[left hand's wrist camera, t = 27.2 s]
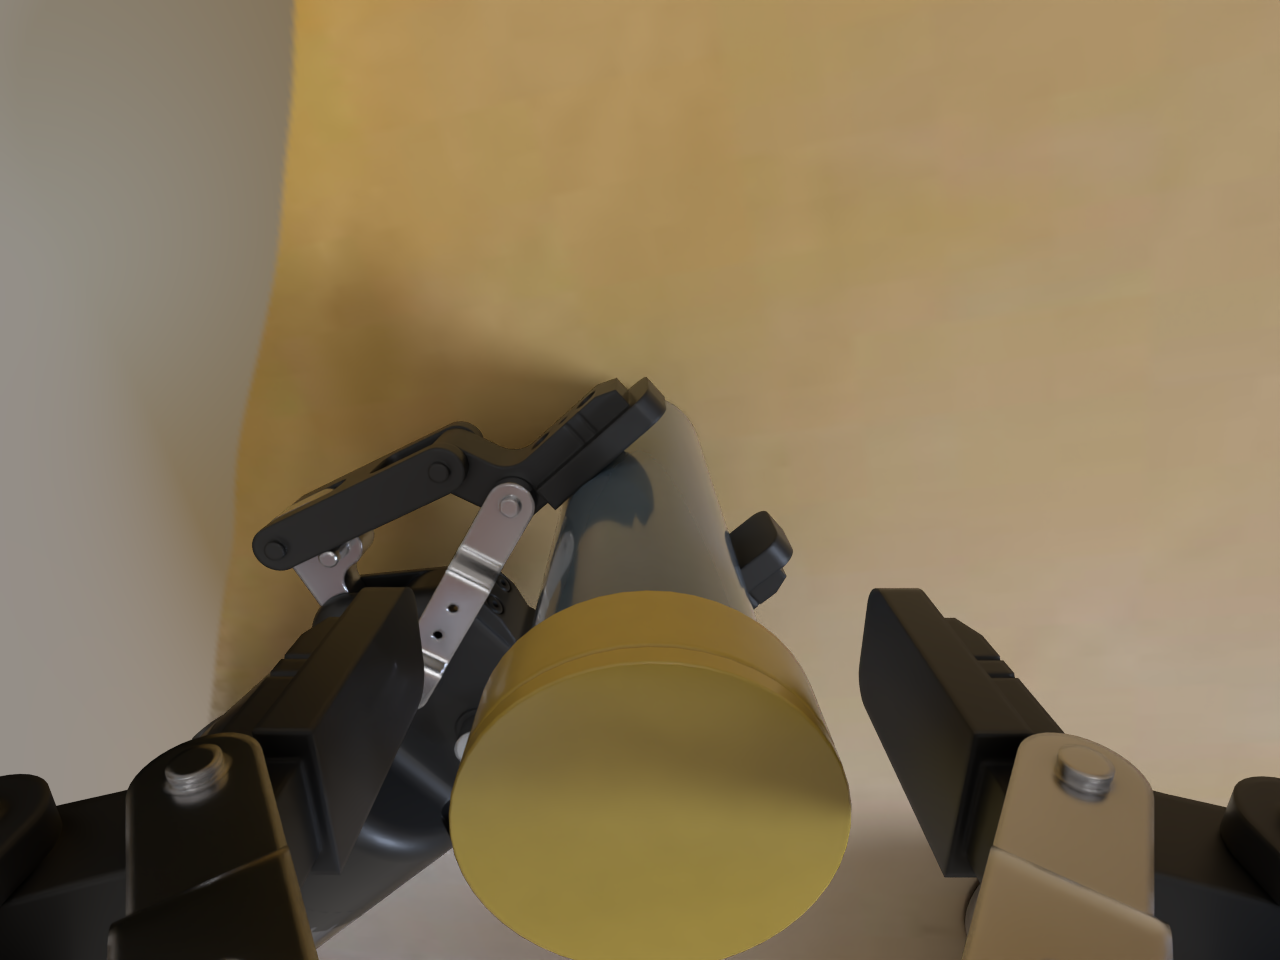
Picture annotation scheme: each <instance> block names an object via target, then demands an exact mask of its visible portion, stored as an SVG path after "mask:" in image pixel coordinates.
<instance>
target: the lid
mask: <svg viewBox="0 0 1280 960" xmlns="http://www.w3.org/2000/svg"><path fill="white" fill-rule="evenodd" d="M850 827H851V799H850V791H849V785H848V782H847V778H846V775H845V772H844V769H843V766H842V763H841V761H840V758H839V756H838V753H837V750H836V749H835V746H834V743H833V740H832V738H831V735H830V733H829V730H828V728H827V725H826V723H825V720H824V717H823V715H822V712H821V710H820V707H819V705H818V702H817V700H816V697H815V695H814V692H813V690H812V687H811V685H810V683H809V681H808V679H807V677H806V675H805V673H804V671H803V669H802V667H801V666H800V664H799V663H798V661H797V660H796V659H795V657H794V656H793V654H792V653H791V652H790V650H789V649H788V648H787V647H786V646H785V645H784V644H783V643H782V642H781V641H780V640H779V639H778V638H777V637H776V636H775V635H774V634H772V633H771V632H770V631H769V630H767V629H766V628H765V627H763V626H762V625H761V624H759V623H758V622H757V621H755V620H753V619H751V618H750V617H748V616H746V615H744V614H743V613H741V612H739V611H737V610H735V609H733V608H731V607H728V606H726V605H723V604H721V603H719V602H716V601H713V600H709V599H706V598H702V597H699V596H695V595H690V594H684V593H678V592H671V591H650V590H644V591H631V592H620V593H615V594H610V595H605V596H600V597H596V598H593V599H590V600H587V601H584V602H580V603H577V604H575V605H573V606H570V607H568V608H566V609H564V610H562V611H560V612H557V613H555V614H554V615H552V616H550V617H549V618H547V619H546V620H544V621H542V622H541V623H539V624H538V625H536V626H534V627H533V628H532V629H531V630H530V631H528V632H527V633H526V634H525V635H524V636H522V637H521V638H520V639H519V640H517V642H516V643H515V644H514V645H513V646H512V647H511V648H510V649H509V650H508V651H507V652H506V654H505V655H504V656H503V657H502V659H501V660H500V662H499V663H498V664H497V666H496V667H495V669H494V670H493V672H492V673H491V676H490V678H489V680H488V682H487V684H486V686H485V688H484V690H483V693H482V696H481V699H480V702H479V706H478V709H477V712H476V715H475V718H474V721H473V724H472V727H471V731H470V734H469V737H468V740H467V743H466V746H465V749H464V752H463V756H462V759H461V762H460V765H459V768H458V771H457V774H456V778H455V781H454V784H453V788H452V791H451V797H450V806H449V830H450V837H451V842H452V846H453V850H454V855H455V858H456V860H457V862H458V865H459V867H460V870H461V872H462V874H463V876H464V878H465V879H466V881H467V883H468V884H469V886H470V888H471V889H472V891H473V892H474V894H475V895H476V896H477V897H478V899H479V900H480V901H481V902H482V903H483V905H484V906H485V907H486V908H487V909H488V910H489V911H490V912H491V913H492V914H493V915H494V916H495V917H496V918H497V919H498V920H500V921H501V922H502V923H503V924H504V925H506V926H507V927H509V928H510V929H511V930H513V931H514V932H515V933H517V934H518V935H520V936H521V937H523V938H525V939H527V940H528V941H530V942H532V943H534V944H536V945H537V946H539V947H541V948H544V949H546V950H548V951H551V952H553V953H555V954H558V955H560V956H563V957H566V958H569V959H573V960H722V959H725V958H727V957H730V956H733V955H736V954H738V953H741V952H744V951H746V950H748V949H750V948H752V947H754V946H756V945H759V944H761V943H763V942H765V941H766V940H768V939H770V938H771V937H773V936H775V935H776V934H778V933H779V932H781V931H783V930H784V929H785V928H787V927H788V926H789V925H791V924H792V923H793V922H794V921H796V920H797V919H798V918H799V917H801V916H802V915H803V914H804V913H805V912H806V911H807V910H808V909H809V908H810V907H811V906H812V905H813V904H814V903H815V902H816V901H817V899H818V898H819V897H820V896H821V894H822V893H823V892H824V890H825V889H826V888H827V886H828V885H829V884H830V882H831V880H832V878H833V876H834V875H835V873H836V871H837V869H838V868H839V866H840V863H841V860H842V858H843V855H844V852H845V850H846V847H847V842H848V837H849V832H850Z"/></svg>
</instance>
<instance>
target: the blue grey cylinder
mask: <svg viewBox="0 0 1280 960" xmlns="http://www.w3.org/2000/svg"><path fill="white" fill-rule="evenodd" d="M665 403H666V411H665V413H664V415H663V416H662V417H661V418H660V419H659V420H658V421H657V422H656V423H655V424H654V425H653V426H652V427H651V428H650V429H649V430H648V431H646V432H645V433H644V434H643V435H642V436H641V437H639V438H638V439H637V440H636V441H635V442H634V443H632V444H631V445H630V446H629V447H628V448H627V449H625V450H624V451H623V452H622V453H621V454H620V455H619V456H617V457H616V458H615V459H614V460H613V461H612V462H610V463H609V464H608V465H607V466H606V467H605V468H603V469H602V470H601V471H600V472H599V473H598V474H596V475H595V476H594V477H593V478H592V479H591V480H590V481H588V482H587V483H586V484H584V485H583V486H582V487H581V488H580V489H579V490H578V491H577V492H575V493H574V494H573V495H572V496H571V497H570V498H569V499H567V500H566V501H565V502H564V503H563V504H562V507H561V511H560V515H559V519H558V523H557V527H556V531H555V535H554V539H553V543H552V547H551V551H550V555H549V559H548V563H547V567H546V571H545V575H544V579H543V583H542V587H541V591H540V595H539V599H538V603H537V607H536V611H535V615H534V619H533V623H532V627H531V629H532V628H533V627H534V626H536V625H538V624H539V623H541V622H542V621H544V620H546V619H547V618H549V617H550V616H552V615H554V614H555V613H557V612H560V611H562V610H564V609H566V608H568V607H570V606H573V605H575V604H577V603H580V602H584V601H587V600H590V599H593V598H596V597H600V596H605V595H610V594H615V593H620V592H631V591H644V590H650V591H671V592H678V593H684V594H690V595H695V596H699V597H702V598H706V599H709V600H713V601H716V602H719V603H721V604H723V605H726V606H728V607H731V608H733V609H735V610H737V611H739V612H741V613H743V614H744V615H746V616H748V617H750V618H751V619H753V620H755V621H757V619H756V616H755V613H754V610H753V607H752V604H751V601H750V597H749V594H748V591H747V588H746V585H745V582H744V579H743V576H742V573H741V570H740V566H739V563H738V560H737V557H736V554H735V551H734V548H733V545H732V542H731V539H730V535H729V532H728V529H727V526H726V523H725V520H724V517H723V514H722V511H721V507H720V504H719V501H718V498H717V495H716V492H715V489H714V486H713V483H712V480H711V476H710V473H709V470H708V467H707V464H706V461H705V458H704V455H703V452H702V448H701V445H700V442H699V439H698V436H697V434H696V431H695V429H694V427H693V425H692V423H691V422H690V420H689V419H688V418H687V416H686V415H685V414H684V413H683V412H682V411H681V410H680V409H678V408H677V407H676V406H674V405H673V404H671V403H669V402H668V401H665Z"/></svg>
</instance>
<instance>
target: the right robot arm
mask: <svg viewBox="0 0 1280 960" xmlns="http://www.w3.org/2000/svg"><path fill="white" fill-rule="evenodd" d="M665 411H666V403H665V398H664V396H663V395H662V394H661V393H660V391H659V390H658V389H657V388H656V387H655V386H654V385H653V384H652V383H651V381H650V380H649V379H648V378H647V377H644V378H643V379H641V380H640V381H638V382H637V383H636V384H634V385H633V386H632V387H631V388H630V389H629V390H627V389H626V388H625V386H624V385H623V384H622V383H621V382H620V381H619V380H618V379H617V378H615V379H612V380H610V381H607V382H604V383H601V384H599V385H597V386H596V387H594V388H593V389H592V390H591V391H590V392H589V393H588V394H587V395H586V396H585V397H583V398H582V400H580V401H579V402H578V403H577V404H576V405H575V406H573V407H572V408H571V409H570V410H569V411H568V412H567V413H566V414H565V415H563V416H562V417H561V418H560V419H559V420H558V421H557V422H556V423H555V424H553V425H552V426H551V427H550V428H549V429H548V430H547V431H546V432H545V433H543V434H542V435H541V436H540V437H539V438H538V439H537V440H536V441H535V442H533V443H532V444H531V445H529V446H527V447H525V448H522V449H514V450H513V449H506V448H503V447H501V446H498V445H496V444H494V443H492V442H490V441H488V440H486V439H484V438H483V435H482V433H481V432H480V430H479V429H478V428H477V427H475V426H474V425H472V424H470V423H468V422H462V421H461V422H454V423H451V424H449V425H447V426H445V427H443V428H441V429H439V430H437V431H435V432H433V433H431V434H429V435H427V436H425V437H423V438H421V439H419V440H416V441H414V442H412V443H410V444H408V445H406V446H404V447H402V448H400V449H398V450H396V451H394V452H392V453H390V454H388V455H386V456H384V457H382V458H379V459H377V460H375V461H373V462H371V463H369V464H367V465H365V466H363V467H361V468H359V469H357V470H355V471H353V472H351V473H349V474H347V475H345V476H342V477H340V478H338V479H336V480H334V481H332V482H330V483H328V484H326V485H324V486H322V487H320V488H318V489H316V490H314V491H312V492H310V493H308V494H305V495H304V496H302V497H301V498H300V499H299V500H297V501H296V502H295V503H294V504H292V505H291V506H290V507H288V508H287V509H286V510H285V511H283V512H282V513H281V514H280V515H278V516H277V517H276V518H275V519H273V520H272V521H271V522H270V523H269V524H268V525H266V526H265V527H264V528H263V529H262V530H260V531H259V532H258V533H257V534H256V535H255V537H254V539H253V542H252V548H253V552H254V555H255V556H256V558H257V559H258V560H259V561H260V562H261V563H262V564H263V565H264V566H266V567H268V568H270V569H273V570H279V571H281V570H288V569H291V568H293V569H294V570H295V572H296V573H297V574H298V576H299V577H300V578H301V580H302V581H303V582H304V584H305V585H306V587H307V588H308V589H309V591H310V592H311V593H312V595H313V596H314V597H315V599H316V600H317V602H318V603H319V604H320V606H321V607H320V609H319V610H318V612H317V613H316V615H315V618H314V621H313V626H312V628H313V627H314V626H316V625H317V624H319V623H320V622H322V621H323V620H325V619H327V618H328V617H340V616H341V615H342V614H343V612H344V611H345V610H346V608H347V607H348V606H349V604H350V603H351V602H352V601H353V599H354V598H355V597H356V595H357V594H358V593H359V592H360V590H361V589H363V588H365V587H409V588H411V589H412V590H413V592H414V595H415V599H416V605H417V613H418V621H419V629H420V636H421V644H422V652H423V660H424V671H425V676H424V688H423V693H422V698H421V701H420V704H419V706H418V709H417V711H416V713H415V715H414V717H413V719H412V722H411V724H410V726H409V728H408V730H407V732H406V735H405V737H404V739H403V741H402V743H401V745H400V747H399V750H398V752H397V754H396V756H395V758H394V760H393V763H392V765H391V767H390V769H389V771H388V773H387V775H386V778H385V780H384V782H383V784H382V786H381V788H380V791H379V793H378V795H377V797H376V799H375V801H374V804H373V806H372V808H371V810H370V812H369V814H368V816H367V819H366V821H365V823H364V825H363V827H362V829H361V832H360V834H359V836H358V838H357V840H356V842H355V845H354V847H353V849H352V851H351V853H350V855H349V857H348V860H347V862H346V864H345V866H344V868H343V870H342V873H341V875H308V877H307V879H306V881H305V883H304V884H303V886H302V888H301V890H300V891H301V895H302V898H303V902H304V906H305V910H306V914H307V917H308V921H309V925H310V929H311V932H312V936H313V940H314V944H315V948H316V949H317V948H318V947H319V946H321V945H322V944H323V943H325V942H326V941H327V940H329V939H330V938H332V937H333V936H334V935H336V934H337V933H338V932H340V931H341V930H342V929H344V928H345V927H346V926H348V925H349V924H350V923H352V922H353V921H354V920H356V919H357V918H359V917H360V916H361V915H363V914H364V913H365V912H367V911H368V910H369V909H371V908H372V907H373V906H375V905H376V904H377V903H379V902H380V901H381V900H383V899H384V898H385V897H387V896H388V895H389V894H391V893H392V892H393V891H395V890H396V889H397V888H399V887H400V886H401V885H403V884H404V883H405V882H407V881H408V880H409V879H411V878H412V877H413V876H415V875H416V874H418V873H419V872H420V871H422V870H423V869H424V868H426V867H427V866H428V865H430V864H431V863H432V862H434V861H435V860H436V859H438V858H439V857H441V856H442V855H443V854H445V853H446V852H447V851H449V850H450V849H451V848H453V846H452V842H451V837H450V830H449V806H450V797H451V791H452V788H453V784H454V781H455V778H456V774H457V771H458V768H459V765H460V762H461V759H462V756H463V752H464V749H465V746H466V743H467V740H468V737H469V734H470V731H471V727H472V724H473V721H474V718H475V715H476V712H477V709H478V706H479V702H480V699H481V696H482V693H483V690H484V688H485V686H486V684H487V682H488V680H489V678H490V676H491V673H492V672H493V670H494V669H495V667H496V666H497V664H498V663H499V662H500V660H501V659H502V657H503V656H504V655H505V654H506V652H507V651H508V650H509V649H510V648H511V647H512V646H513V645H514V644H515V643H516V642H517V640H519V639H520V638H521V637H522V636H524V635H525V634H526V633H527V632H528V631H530V630H531V627H532V623H533V619H534V615H535V611H536V610H535V609H533V608H531V607H529V606H528V605H527V603H526V602H525V600H524V598H523V597H522V595H521V594H520V592H519V591H518V589H517V588H516V586H515V584H513V583H512V582H511V581H510V580H509V579H508V578H507V577H506V576H505V575H504V574H503V573H502V572H501V570H502V568H503V566H504V565H505V563H506V561H507V559H508V558H509V556H510V554H511V553H512V551H513V549H514V547H515V546H516V544H517V542H518V541H519V539H520V537H521V535H522V534H523V532H524V530H525V529H526V527H527V525H528V523H529V522H530V520H531V518H532V516H533V515H534V514H535V513H537V512H538V511H539V510H540V509H541V508H542V507H543V506H545V505H546V504H547V503H549V504H550V505H551V506H552V507H553V508H554V509H555V510H556V509H557V508H558V507H559V506H561V505H562V504H563V503H564V502H565V501H566V500H567V499H569V498H570V497H571V496H572V495H573V494H574V493H575V492H577V491H578V490H579V489H580V488H581V487H582V486H583V485H584V484H586V483H587V482H588V481H590V480H591V479H592V478H593V477H594V476H595V475H596V474H598V473H599V472H600V471H601V470H602V469H603V468H605V467H606V466H607V465H608V464H609V463H610V462H612V461H613V460H614V459H615V458H616V457H617V456H619V455H620V454H621V453H622V452H623V451H624V450H625V449H627V448H628V447H629V446H630V445H631V444H632V443H634V442H635V441H636V440H637V439H638V438H639V437H641V436H642V435H643V434H644V433H645V432H646V431H648V430H649V429H650V428H651V427H652V426H653V425H654V424H655V423H656V422H657V421H658V420H659V419H660V418H661V417H662V416H663V415H664V413H665ZM450 493H451V494H453V495H456V496H458V497H460V498H462V499H464V500H466V501H468V502H470V503H473V504H475V505H477V506H479V507H481V508H480V510H479V512H478V513H477V515H476V517H475V519H474V521H473V522H472V524H471V526H470V528H469V530H468V531H467V533H466V535H465V537H464V539H463V540H462V542H461V544H460V546H459V548H458V550H457V551H456V553H455V555H454V557H453V559H452V560H451V562H450V564H449V566H446V567H436V568H425V569H415V570H405V571H395V572H385V573H374V574H364V575H359V573H358V571H357V561H358V560H359V559H360V558H361V557H362V555H363V554H364V553H365V552H366V551H367V549H368V548H369V547H370V546H371V544H372V543H373V540H374V529H376V528H378V527H380V526H382V525H384V524H386V523H388V522H391V521H393V520H395V519H397V518H399V517H401V516H403V515H405V514H408V513H410V512H412V511H414V510H416V509H418V508H420V507H422V506H425V505H427V504H429V503H431V502H433V501H435V500H437V499H440V498H442V497H444V496H446V495H448V494H450ZM729 535H730V539H731V542H732V545H733V548H734V551H735V554H736V557H737V560H738V563H739V566H740V570H741V573H742V576H743V579H744V582H745V585H746V588H747V591H748V594H749V597H750V601H751V604H752V607H753V609H755V608H756V607H757V606H758V605H759V604H761V603H763V602H764V601H765V600H767V599H768V598H770V597H771V596H772V595H774V594H775V593H776V592H777V590H778V589H779V587H780V586H781V584H782V583H783V581H784V580H785V578H786V574H785V572H784V570H783V568H782V567H784V566H785V565H786V564H787V562H788V561H789V560H790V558H791V556H792V553H793V549H792V547H791V545H790V543H789V541H788V539H787V537H786V535H785V533H784V531H783V529H782V528H781V527H780V526H779V525H778V524H777V523H776V521H775V520H774V519H773V518H772V517H771V516H770V515H769V514H768V513H767V512H766V511H761V512H758V513H756V514H754V515H753V516H751V517H750V518H749V519H748V520H746V521H745V522H744V523H743V524H741V525H740V526H739V527H737V528H736V529H735V530H734V531H732V532H731V533H730V534H729ZM270 674H271V673H269V674H268V675H267V676H266V677H270ZM266 677H265V678H266ZM265 678H264V679H265ZM264 679H263V680H264ZM263 680H261V681H260V682H259V683H258V684H257V685H256V686H255V687H254V688H253V689H251V690H250V691H249V692H248V693H247V694H246V695H245V696H244V697H243V698H242V699H240V700H239V701H238V702H237V703H236V704H235V705H234V706H233V707H232V708H230V709H229V710H228V711H227V712H226V713H225V714H224V715H222V716H220V717H218V718H217V719H215V720H214V721H212V722H211V723H210V724H208V725H207V726H206V727H204V728H203V729H202V730H201V731H200V732H198V733H197V734H196V735H195V736H194V737H193V738H192V739H195V738H199V737H202V736H206V735H211V734H217V733H220V732H221V731H222V730H223V728H224V727H225V726H226V725H227V724H228V722H229V721H230V720H231V719H232V718H233V716H234V715H235V714H236V713H237V712H238V710H239V709H240V708H241V707H242V706H243V704H244V703H245V702H246V701H247V700H248V698H249V697H250V696H251V695H252V694H253V692H254V691H255V690H256V689H257V688H258V686H259V685H260V684H261V683H262V682H263ZM980 887H981V884H980V885H979V886H978V887H977V889H976V890H975V892H974V894H973V896H972V898H971V900H970V902H969V905H968V907H967V911H966V917H965V929H966V935H967V936H968V932H969V929H970V925H971V921H972V917H973V914H974V910H975V906H976V902H977V898H978V895H979V891H980Z"/></svg>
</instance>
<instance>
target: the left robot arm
mask: <svg viewBox="0 0 1280 960" xmlns="http://www.w3.org/2000/svg"><path fill="white" fill-rule="evenodd" d="M270 673H271V674H270V677H266V678H265V679H264V680H263V682H262V683H261V684H260V685H259V686H258V688H257V689H256V690H255V691H254V692H253V694H252V695H251V696H250V697H249V698H248V700H247V701H246V702H245V703H244V704H243V706H242V707H241V708H240V709H239V710H238V712H237V713H236V714H235V715H234V716H233V718H232V719H231V720H230V721H229V722H228V724H227V725H226V726H225V727H224V728H223V730H222V731H221V732H220V733H217V734H211V735H206V736H202V737H199V738H195V739H192V740H190V741H187V742H185V743H182V744H180V745H178V746H176V747H174V748H172V749H170V750H168V751H166V752H165V753H163V754H161V755H160V756H158V757H157V758H155V759H154V760H153V761H151V762H150V763H149V764H148V765H146V766H145V767H144V768H143V769H142V770H141V771H140V772H139V773H138V774H137V775H136V776H135V778H134V779H133V781H132V782H131V784H130V786H129V788H128V790H125V791H121V792H116V793H112V794H108V795H103V796H99V797H94V798H90V799H85V800H80V801H76V802H72V803H67V804H63V805H58V806H56V804H55V802H54V799H53V796H52V794H51V791H50V789H49V786H48V784H47V782H46V781H45V780H44V779H42V778H40V777H38V776H34V775H30V774H14V775H6V776H0V960H319V959H318V955H317V951H316V948H315V944H314V940H313V936H312V932H311V929H310V925H309V921H308V917H307V914H306V910H305V906H304V902H303V898H302V895H301V891H300V890H301V888H302V886H303V884H304V883H305V881H306V879H307V877H308V875H341V873H342V870H343V868H344V866H345V864H346V862H347V860H348V857H349V855H350V853H351V851H352V849H353V847H354V845H355V842H356V840H357V838H358V836H359V834H360V832H361V829H362V827H363V825H364V823H365V821H366V819H367V816H368V814H369V812H370V810H371V808H372V806H373V804H374V801H375V799H376V797H377V795H378V793H379V791H380V788H381V786H382V784H383V782H384V780H385V778H386V775H387V773H388V771H389V769H390V767H391V765H392V763H393V760H394V758H395V756H396V754H397V752H398V750H399V747H400V745H401V743H402V741H403V739H404V737H405V735H406V732H407V730H408V728H409V726H410V724H411V722H412V719H413V717H414V715H415V713H416V711H417V709H418V706H419V704H420V701H421V698H422V693H423V688H424V676H425V671H424V660H423V652H422V644H421V636H420V629H419V621H418V613H417V605H416V599H415V595H414V592H413V590H412V589H411V588H409V587H365V588H363V589H361V590H360V592H359V593H358V594H357V595H356V597H355V598H354V599H353V601H352V602H351V603H350V604H349V606H348V607H347V608H346V610H345V611H344V612H343V614H342V615H341V616H340V617H328V618H327V619H325V620H323V621H322V622H320V623H319V624H317V625H316V626H314V627H313V628H311V629H309V630H308V631H306V632H305V633H303V634H302V635H301V636H300V637H299V638H298V640H297V641H296V642H295V643H294V644H293V646H292V647H291V648H290V649H289V650H288V652H287V653H286V654H285V658H284V659H281V660H280V661H279V662H278V664H277V665H276V666H275V667H274V668H273V670H272V671H271V672H270ZM859 685H860V692H861V697H862V701H863V704H864V706H865V709H866V711H867V713H868V715H869V717H870V719H871V722H872V724H873V726H874V728H875V730H876V732H877V734H878V736H879V739H880V741H881V743H882V745H883V747H884V749H885V751H886V753H887V756H888V758H889V760H890V762H891V764H892V766H893V768H894V771H895V773H896V775H897V777H898V779H899V781H900V783H901V785H902V788H903V790H904V792H905V794H906V796H907V798H908V800H909V802H910V805H911V807H912V809H913V811H914V813H915V815H916V817H917V819H918V822H919V824H920V826H921V828H922V830H923V832H924V834H925V837H926V839H927V841H928V843H929V845H930V847H931V849H932V851H933V854H934V856H935V858H936V860H937V862H938V864H939V866H940V868H941V871H942V873H943V875H944V877H977V878H978V880H979V882H980V884H981V887H980V891H979V895H978V898H977V902H976V906H975V910H974V914H973V917H972V921H971V925H970V929H969V932H968V936H967V940H966V944H965V948H964V951H963V955H962V959H961V960H1280V778H1275V777H1263V776H1262V777H1250V778H1246V779H1243V780H1242V781H1240V782H1238V783H1237V784H1236V786H1235V787H1234V790H1233V793H1232V795H1231V798H1230V800H1229V803H1228V806H1227V807H1222V806H1218V805H1213V804H1209V803H1204V802H1200V801H1195V800H1191V799H1186V798H1182V797H1177V796H1173V795H1168V794H1164V793H1160V792H1156V791H1153V790H1152V788H1151V786H1150V784H1149V782H1148V781H1147V779H1146V778H1145V776H1144V775H1143V774H1142V773H1141V772H1140V771H1139V770H1138V769H1137V768H1136V767H1135V766H1134V765H1132V764H1131V763H1130V762H1129V761H1127V760H1126V759H1125V758H1123V757H1122V756H1120V755H1119V754H1117V753H1115V752H1114V751H1112V750H1110V749H1108V748H1106V747H1104V746H1102V745H1100V744H1098V743H1095V742H1093V741H1090V740H1088V739H1085V738H1081V737H1078V736H1074V735H1069V734H1065V733H1064V732H1063V731H1062V730H1061V728H1060V727H1059V726H1058V725H1057V724H1056V722H1055V721H1054V720H1053V719H1052V718H1051V717H1050V715H1049V714H1048V713H1047V712H1046V711H1045V709H1044V708H1043V707H1042V706H1041V705H1040V703H1039V702H1038V701H1037V700H1036V699H1035V698H1034V696H1033V695H1032V694H1031V693H1030V692H1029V690H1028V689H1027V688H1026V687H1025V686H1024V684H1023V683H1022V682H1021V681H1020V680H1019V679H1018V678H1015V677H1014V673H1013V671H1012V670H1011V669H1010V668H1009V667H1008V665H1007V664H1006V663H1005V662H1004V661H1000V656H999V655H998V654H997V652H996V651H995V650H994V649H993V648H992V646H991V645H990V644H989V643H988V642H987V640H986V639H985V638H984V637H983V636H982V635H981V634H979V633H977V632H976V631H974V630H973V629H971V628H970V627H968V626H967V625H965V624H963V623H962V622H960V621H959V620H957V619H956V618H944V617H943V616H942V614H941V613H940V612H939V611H938V609H937V608H936V607H935V605H934V604H933V603H932V602H931V600H930V599H929V598H928V597H927V595H926V594H925V593H924V592H923V591H922V590H921V589H919V588H875V589H873V590H872V591H871V593H870V595H869V598H868V603H867V611H866V618H865V626H864V634H863V641H862V649H861V657H860V664H859Z"/></svg>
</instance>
